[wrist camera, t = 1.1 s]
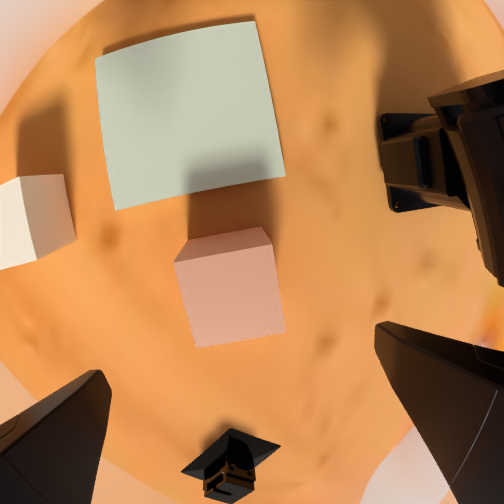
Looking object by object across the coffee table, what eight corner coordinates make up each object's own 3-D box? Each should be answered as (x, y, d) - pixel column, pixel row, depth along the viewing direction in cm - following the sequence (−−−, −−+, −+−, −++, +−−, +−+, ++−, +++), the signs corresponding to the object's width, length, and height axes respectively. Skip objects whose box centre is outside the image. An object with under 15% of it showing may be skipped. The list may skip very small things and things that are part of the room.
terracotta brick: (261, 225, 18) (272, 244, 13) (272, 294, 19) (285, 332, 15) (187, 239, 18) (173, 262, 13) (203, 307, 19) (196, 347, 14)
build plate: (253, 27, 15) (254, 20, 14) (282, 176, 18) (285, 176, 17) (101, 63, 15) (95, 58, 14) (120, 208, 17) (115, 210, 16)
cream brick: (63, 174, 16) (19, 176, 12) (77, 240, 18) (37, 260, 13) (18, 192, 16) (-28, 199, 12) (31, 252, 17) (-11, 272, 13)
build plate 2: (232, 407, 22) (234, 448, 18) (299, 434, 24) (310, 471, 19) (167, 470, 24) (162, 504, 20) (226, 491, 26) (228, 523, 21)
